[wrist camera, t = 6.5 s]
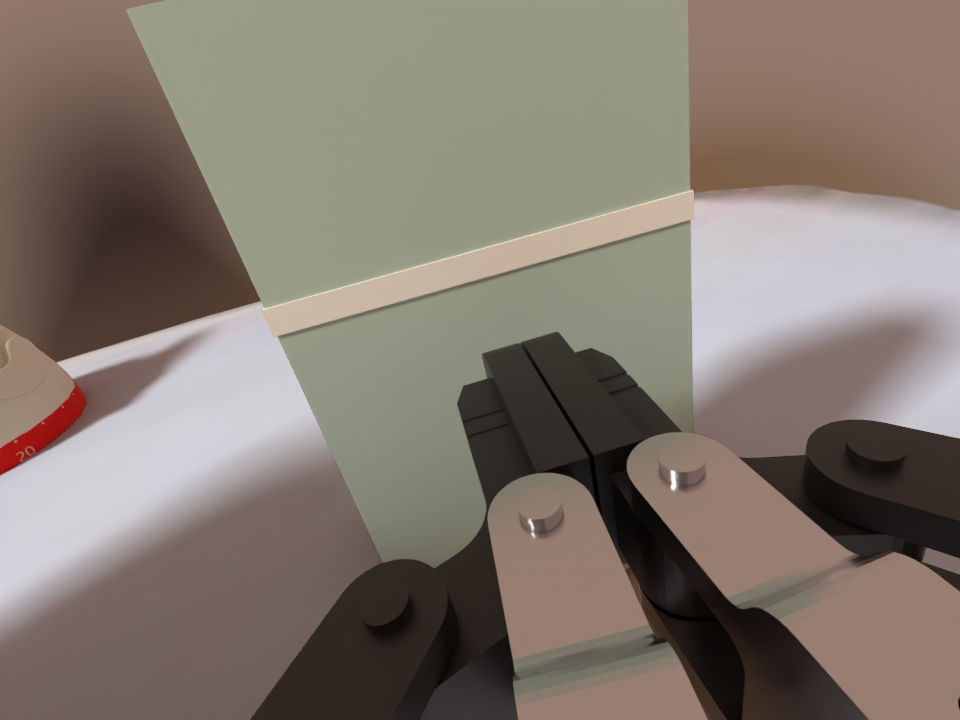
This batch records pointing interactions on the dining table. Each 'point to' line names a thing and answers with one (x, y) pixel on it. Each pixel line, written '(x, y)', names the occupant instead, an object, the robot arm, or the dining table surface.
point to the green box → (442, 209)
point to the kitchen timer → (32, 400)
